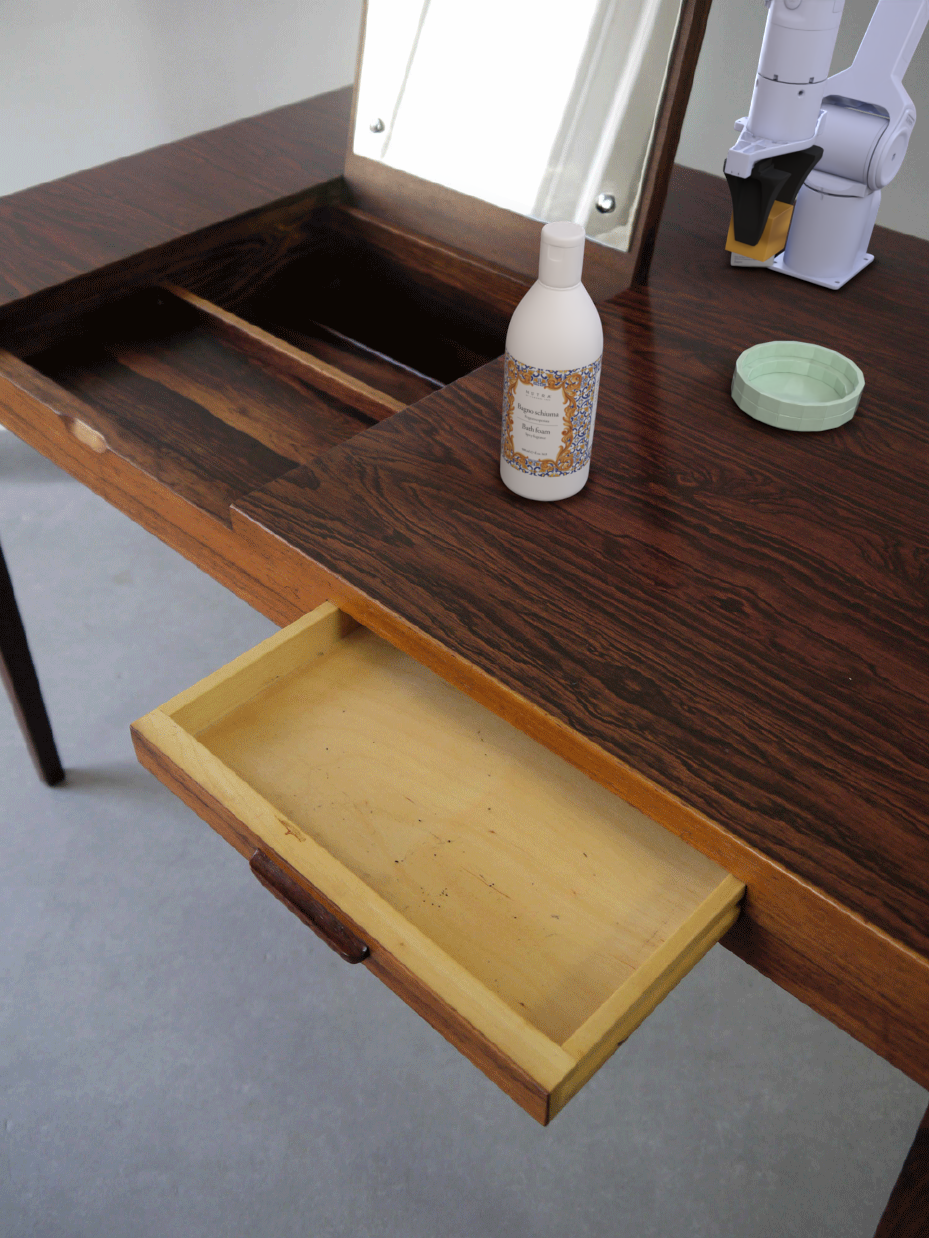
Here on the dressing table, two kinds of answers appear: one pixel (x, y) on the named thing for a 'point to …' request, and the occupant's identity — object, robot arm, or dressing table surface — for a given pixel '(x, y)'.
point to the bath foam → (552, 375)
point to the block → (765, 234)
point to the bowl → (797, 385)
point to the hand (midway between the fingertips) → (758, 234)
